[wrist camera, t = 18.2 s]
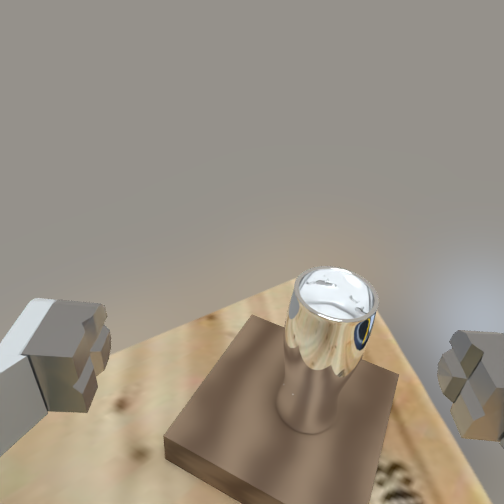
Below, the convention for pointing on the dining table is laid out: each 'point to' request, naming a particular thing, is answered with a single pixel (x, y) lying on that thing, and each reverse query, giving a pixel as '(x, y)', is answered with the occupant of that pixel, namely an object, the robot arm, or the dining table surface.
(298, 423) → the beer glass
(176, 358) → the dining table surface
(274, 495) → the walnut base
